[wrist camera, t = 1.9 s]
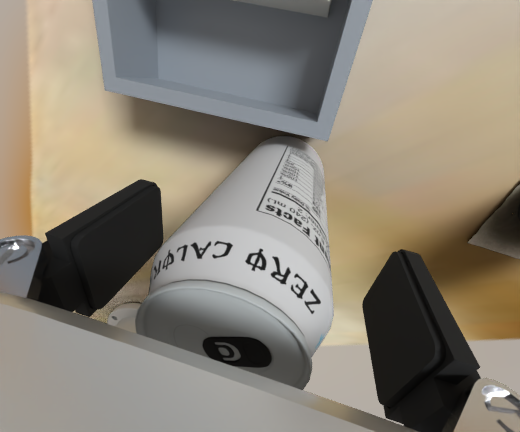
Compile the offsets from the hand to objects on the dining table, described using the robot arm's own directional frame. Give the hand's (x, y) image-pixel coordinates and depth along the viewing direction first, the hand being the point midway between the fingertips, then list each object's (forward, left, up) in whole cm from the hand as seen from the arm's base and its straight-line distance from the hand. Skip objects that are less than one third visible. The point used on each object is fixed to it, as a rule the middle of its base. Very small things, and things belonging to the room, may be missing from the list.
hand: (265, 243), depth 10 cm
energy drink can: (-1, 0, -11) cm, 11 cm away
